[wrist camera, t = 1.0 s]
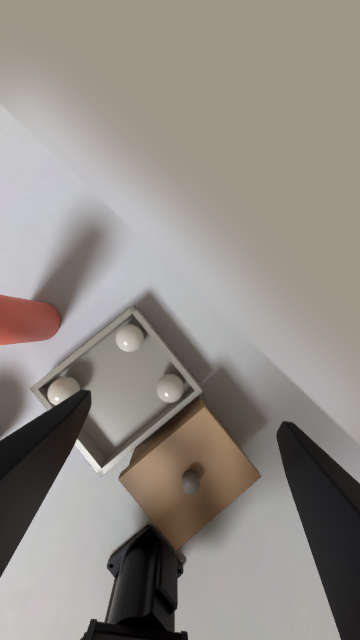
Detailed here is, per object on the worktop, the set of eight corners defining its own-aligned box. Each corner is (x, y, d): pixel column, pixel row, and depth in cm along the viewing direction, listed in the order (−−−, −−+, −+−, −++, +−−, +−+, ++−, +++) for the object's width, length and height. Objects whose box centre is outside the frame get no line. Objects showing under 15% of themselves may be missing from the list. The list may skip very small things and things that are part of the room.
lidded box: (175, 507, 23) (175, 562, 18) (129, 449, 23) (115, 486, 18) (245, 448, 23) (265, 484, 18) (199, 391, 23) (206, 411, 18)
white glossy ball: (130, 355, 23) (124, 359, 20) (114, 335, 23) (105, 336, 20) (150, 339, 23) (147, 341, 20) (134, 319, 23) (128, 318, 20)
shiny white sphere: (168, 401, 23) (167, 413, 20) (152, 382, 23) (149, 390, 20) (188, 385, 23) (190, 394, 20) (172, 365, 23) (172, 371, 20)
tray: (108, 460, 23) (100, 476, 20) (45, 381, 23) (29, 388, 21) (199, 384, 23) (202, 391, 21) (137, 307, 24) (133, 305, 21)
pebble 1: (69, 405, 22) (53, 417, 19) (53, 384, 22) (34, 394, 19) (90, 388, 22) (77, 398, 19) (73, 368, 22) (58, 374, 19)
